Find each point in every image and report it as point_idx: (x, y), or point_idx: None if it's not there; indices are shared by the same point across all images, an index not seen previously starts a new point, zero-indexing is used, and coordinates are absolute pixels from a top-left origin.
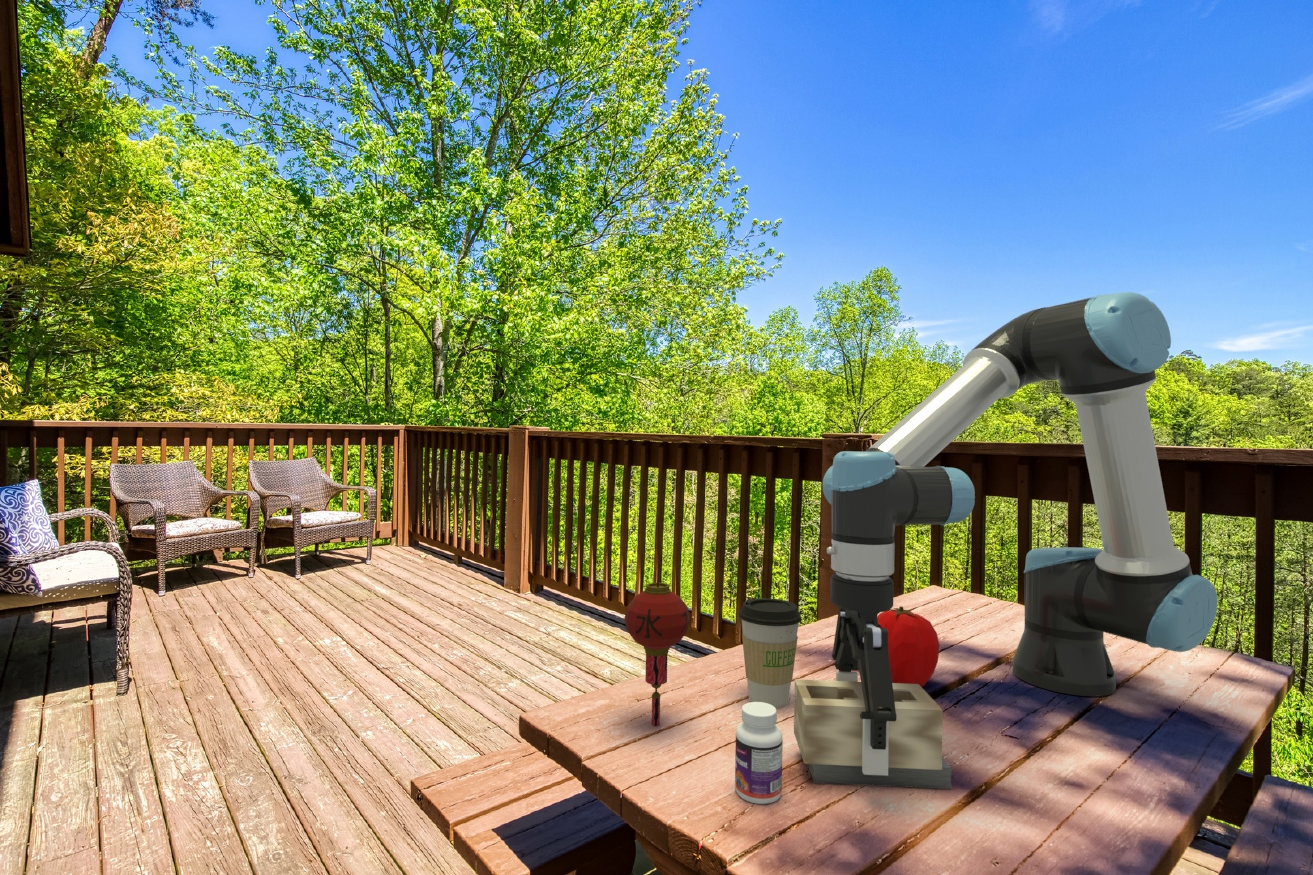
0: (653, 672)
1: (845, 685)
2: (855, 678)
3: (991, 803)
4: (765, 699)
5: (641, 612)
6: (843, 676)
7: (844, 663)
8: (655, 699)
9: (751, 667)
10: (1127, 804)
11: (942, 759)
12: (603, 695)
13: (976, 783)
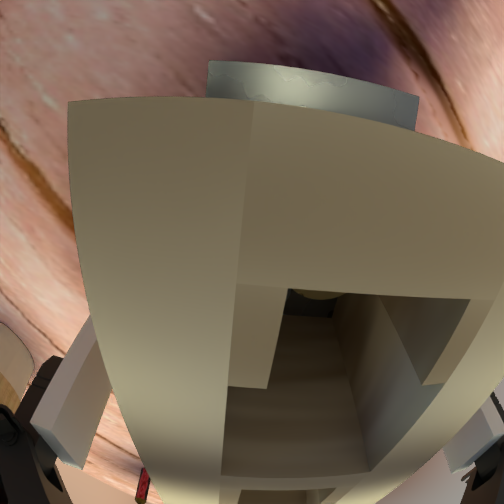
0: None
1: (200, 491)
2: (63, 419)
3: (448, 42)
4: (28, 374)
5: None
6: (78, 450)
7: (62, 494)
8: (146, 499)
9: None
10: None
11: (366, 88)
12: (94, 475)
13: (363, 8)
